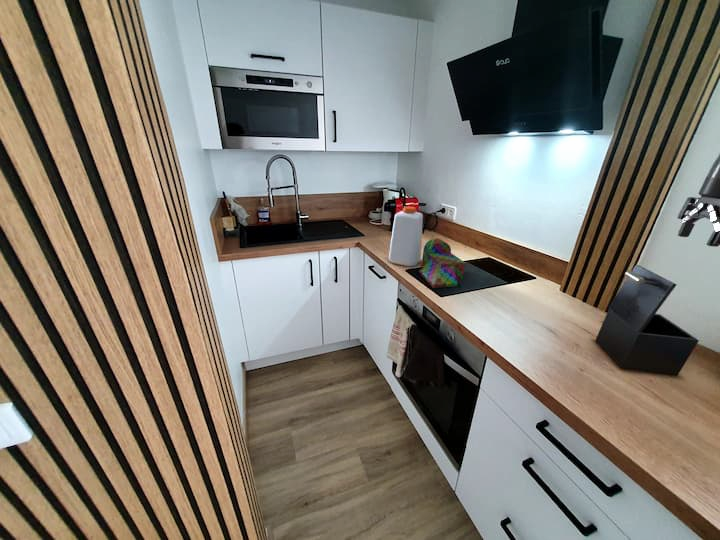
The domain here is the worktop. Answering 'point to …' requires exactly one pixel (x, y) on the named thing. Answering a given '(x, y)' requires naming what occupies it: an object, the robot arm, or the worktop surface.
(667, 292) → the bin lid
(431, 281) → the rainbow lumpy figurine
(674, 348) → the bin
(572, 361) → the worktop surface
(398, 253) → the plastic bottle
